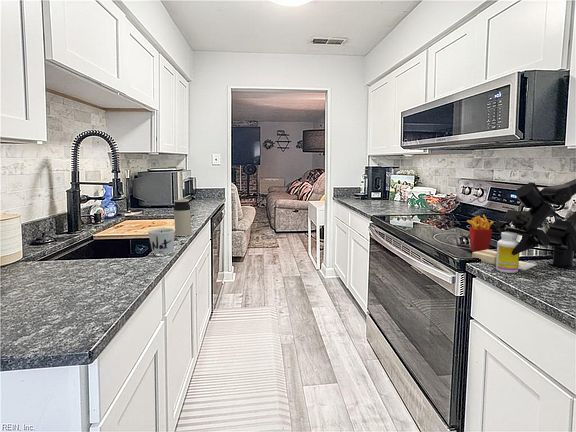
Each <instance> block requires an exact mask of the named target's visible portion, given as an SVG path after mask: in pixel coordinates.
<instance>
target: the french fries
mask: <svg viewBox="0 0 576 432" xmlns="http://www.w3.org/2000/svg"><path fill="white" fill-rule="evenodd" d="M482 217H483V218H482ZM482 217H481V215H477V216H474V217H472V218H471V219H470V220H469V219H467V220H466V223H468V224H470V225H471V226H469V231H468V232H469V243H470V245H469V247H470V252H471V251H473V252H477V251H482V250H487V249H488V250H490V245H491V241H492V235H493V229H492V228H491V226H492V225H493V224H494V221H493V220H492V221H490V222H489V220H488V219H487V216H485V214H483V215H482Z"/></svg>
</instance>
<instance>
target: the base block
mask: <svg viewBox="0 0 576 432" xmlns="http://www.w3.org/2000/svg"><path fill="white" fill-rule="evenodd" d="M471 253H472V254H471V258H472V257H476V258H479V259H481V261H480V262H483V263H487V264H491V265H496V256H497V250H493V249H489V250H488V249H487V250H482V251H477V252H471Z"/></svg>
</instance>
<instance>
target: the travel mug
mask: <svg viewBox="0 0 576 432" xmlns="http://www.w3.org/2000/svg"><path fill="white" fill-rule="evenodd" d="M189 201H190V199H189V198H188V199H187V198H186V199H184V198H182V199H180V198H179V199H174V200H173V202H174V205H173V216H174V217H173V218H174V230H175V234H176V235H190V234H192V223H191V222H192V216H191V206H190V204H189ZM190 236H191V235H190Z"/></svg>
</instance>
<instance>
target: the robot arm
mask: <svg viewBox="0 0 576 432" xmlns="http://www.w3.org/2000/svg"><path fill="white" fill-rule="evenodd" d="M514 195H515V196H516V198H517V199H518V200H519V202H520V203H521V204H522V205H523V207H525V209H528V211H527V210H525V209H524V210H521V211H519V210H515V209H507V210H506V213H505V215H504V217H503V218H504V219H505V220H509V221H510V222H511V224H510V223H509V222H508V221H502V220H498V221H496V222H495V223H494V227H495V229H496V230H497V231H498V232H499V237H498V241H499V240H501V239H502V237H501V233H502V232H513V233H517V236H521V239H520V241H518V242H519V243H518V244H517V246H516V247H515V248H514V250H513V251H512V255H516V254H518V253H519V254H520V253H523V252H526V251H528V250H531V249H535V248H539V247H544V248H547V247H553V254H552V255H553V258H552V261H551V262H547V264H548V265H550V266H554V267H555V266H556V267H560V268H564V269H570V268H574V267H576V263H574V253H575V252H576V211H574V212H573V213H572V214H571V215H570V216H569V217H567V218H566V219H565V220H564V219H556V220H555V221H553V223H552V224H550V225H549V226H548V228H547V229H546V231H544V229H543V227H544V225H543V223H544V222H545V221H546V220H547V218H548V217H555V218H556V217H557V212H556V208H554V207H552V206H559V207H560V206H563V205H565V204H566V203H568V202H569V201H571V200H572V197H573V196H575V195H576V178H574V179H571V180H569V181H567V182H565V183H563V184H555V185H550V186H546V187H543V188H542V189H541V190H540V189H539V188H538V186H537V184H536V183H535V182H528V183H527V184H525V185H522V186H520V187H518V188H517V189H516V190H515V193H514ZM511 225H512V226H514V227H512V226H511ZM498 241H497V242H498ZM495 250H497V245H496V246H495Z"/></svg>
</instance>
